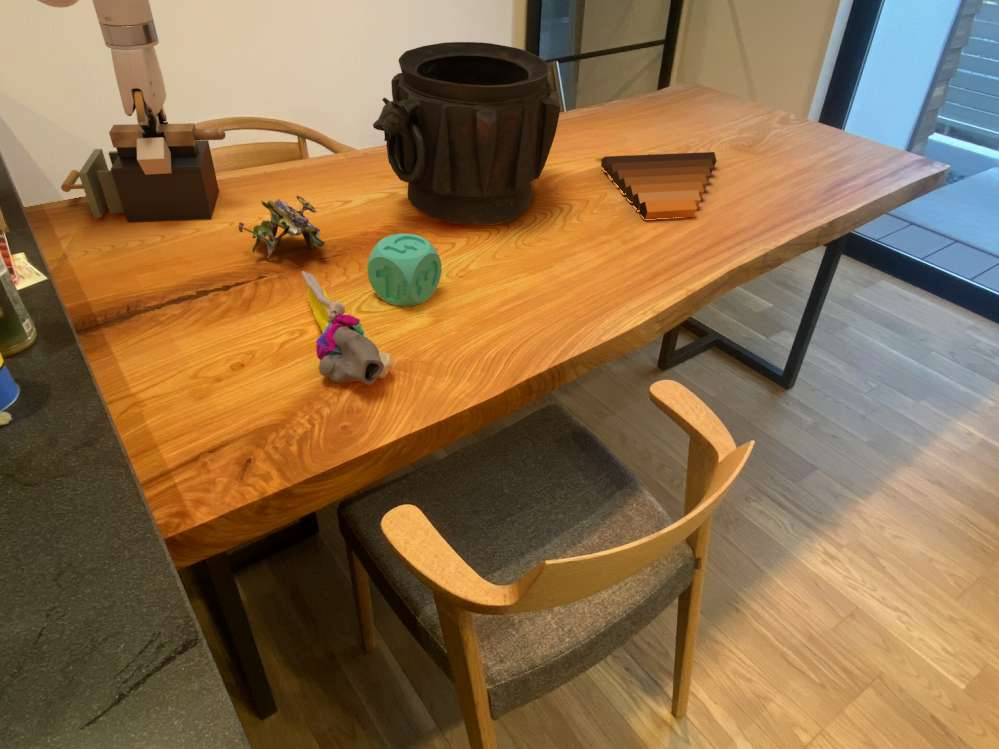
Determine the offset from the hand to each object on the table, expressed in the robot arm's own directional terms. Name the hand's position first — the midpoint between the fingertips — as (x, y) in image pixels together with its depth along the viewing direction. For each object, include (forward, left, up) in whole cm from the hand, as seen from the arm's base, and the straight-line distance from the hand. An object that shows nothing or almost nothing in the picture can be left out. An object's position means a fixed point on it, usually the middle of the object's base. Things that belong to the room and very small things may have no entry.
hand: (161, 150), depth 117 cm
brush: (+2, 0, -1) cm, 2 cm away
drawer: (-8, 0, -9) cm, 12 cm away
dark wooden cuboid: (0, 0, -10) cm, 10 cm away
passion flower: (+20, -19, -11) cm, 29 cm away
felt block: (0, -5, 0) cm, 5 cm away
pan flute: (+96, -1, -11) cm, 96 cm away
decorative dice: (+38, -33, -11) cm, 51 cm away
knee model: (+28, -45, -11) cm, 54 cm away
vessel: (+53, -2, -11) cm, 54 cm away
